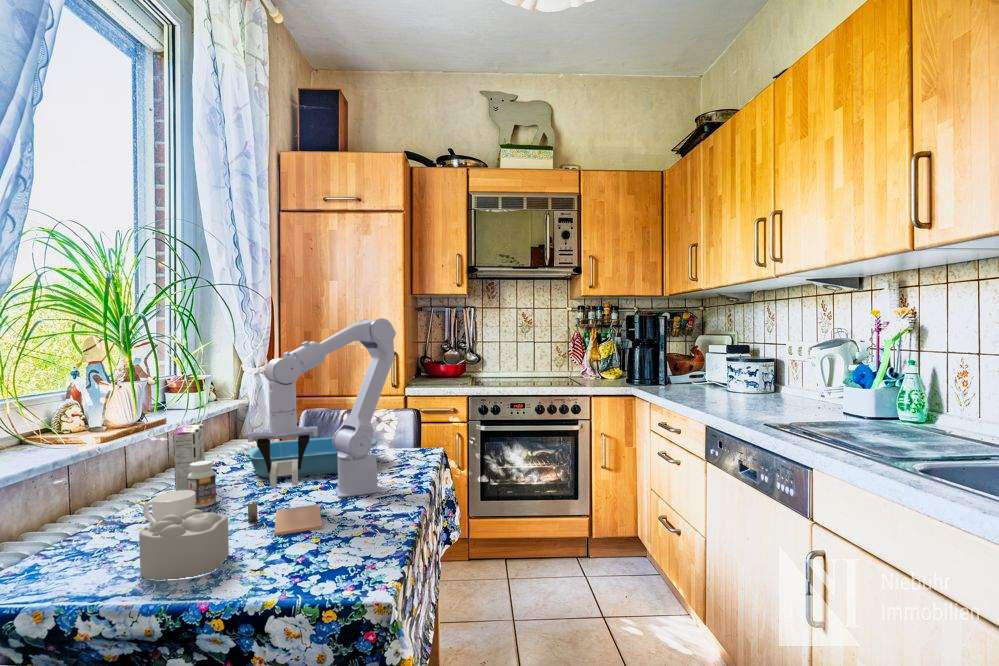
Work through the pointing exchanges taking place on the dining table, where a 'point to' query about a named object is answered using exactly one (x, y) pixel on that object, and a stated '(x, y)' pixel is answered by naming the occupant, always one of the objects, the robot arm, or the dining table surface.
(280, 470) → the link
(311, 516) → the trivet
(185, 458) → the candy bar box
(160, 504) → the cup
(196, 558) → the lumpy-topped squat cylinder
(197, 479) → the pill bottle
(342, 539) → the dining table surface
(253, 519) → the stand
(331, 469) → the casserole dish
